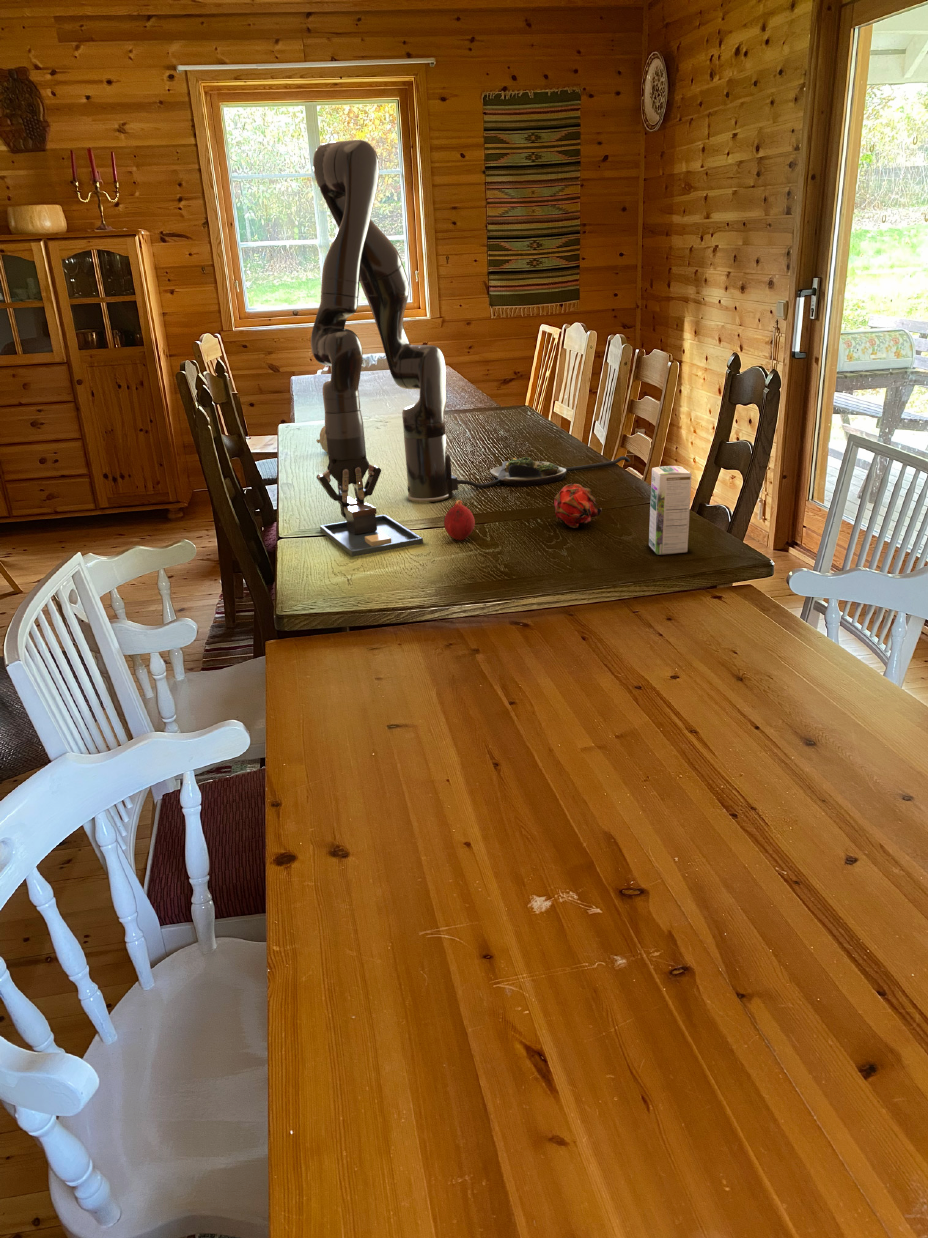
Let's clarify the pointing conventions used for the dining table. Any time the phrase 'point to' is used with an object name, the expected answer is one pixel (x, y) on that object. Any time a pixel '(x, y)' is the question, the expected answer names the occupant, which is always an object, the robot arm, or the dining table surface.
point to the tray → (357, 543)
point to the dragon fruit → (575, 505)
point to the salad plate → (527, 472)
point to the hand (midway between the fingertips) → (353, 517)
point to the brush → (360, 517)
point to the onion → (459, 521)
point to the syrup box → (669, 510)
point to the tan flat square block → (377, 539)
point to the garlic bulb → (323, 440)
